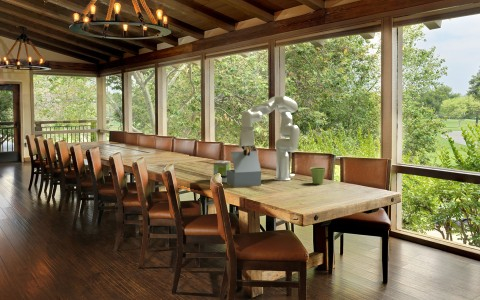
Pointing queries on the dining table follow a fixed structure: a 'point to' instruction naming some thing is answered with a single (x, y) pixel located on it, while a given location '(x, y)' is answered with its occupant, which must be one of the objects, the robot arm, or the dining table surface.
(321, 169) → the plant pot
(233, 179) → the slate box
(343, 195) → the dining table surface
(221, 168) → the tea box
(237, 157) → the lid flap
